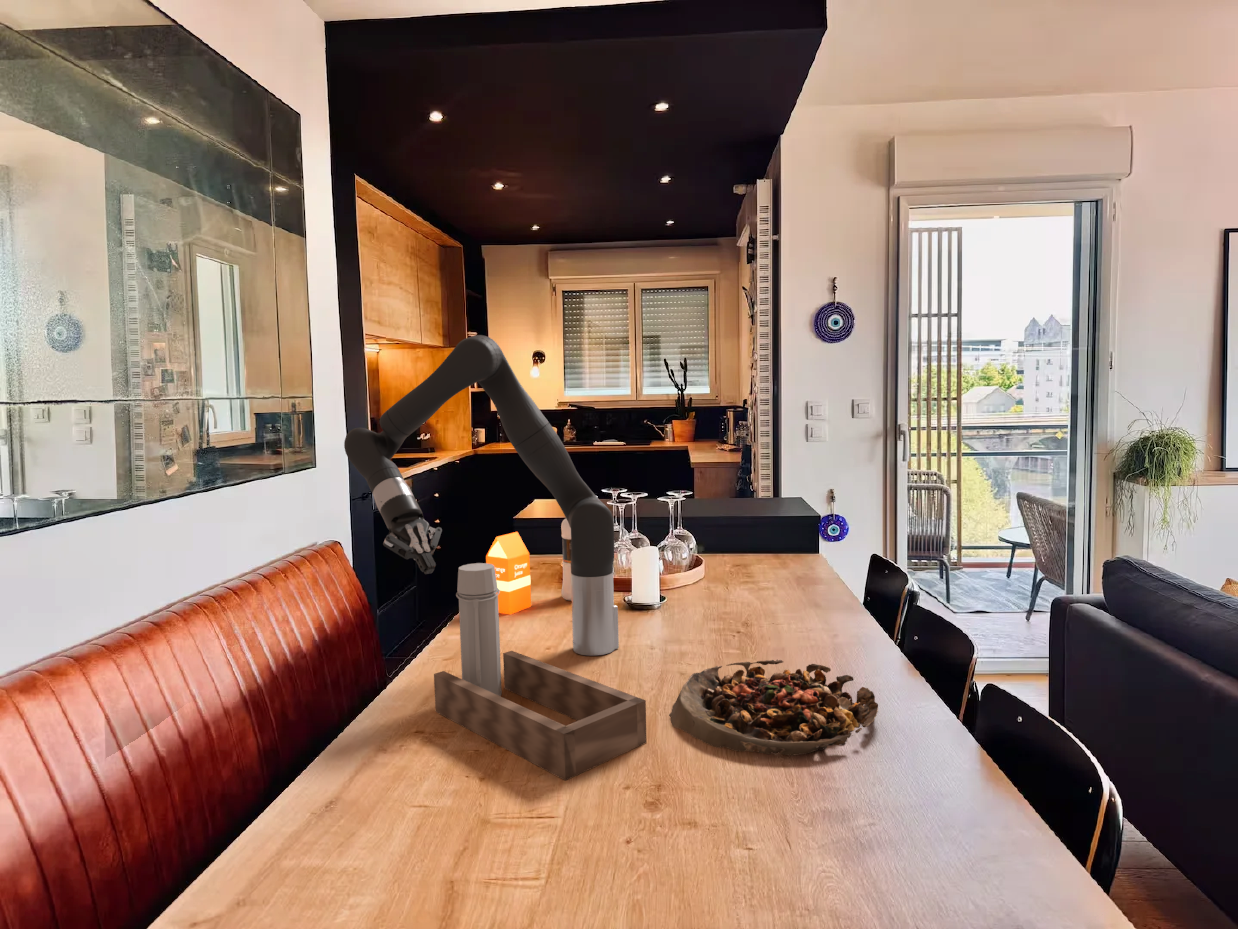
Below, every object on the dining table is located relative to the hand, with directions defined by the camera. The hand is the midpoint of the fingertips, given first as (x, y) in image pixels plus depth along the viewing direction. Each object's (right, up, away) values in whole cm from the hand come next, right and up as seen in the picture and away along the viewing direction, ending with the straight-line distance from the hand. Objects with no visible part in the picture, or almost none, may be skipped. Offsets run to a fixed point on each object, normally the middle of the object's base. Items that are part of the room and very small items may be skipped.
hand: (430, 571), depth 154 cm
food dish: (+64, -23, -19) cm, 70 cm away
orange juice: (+8, -17, +52) cm, 56 cm away
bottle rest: (+23, -23, -22) cm, 39 cm away
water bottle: (+12, -23, -10) cm, 28 cm away
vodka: (+26, -16, +62) cm, 69 cm away
